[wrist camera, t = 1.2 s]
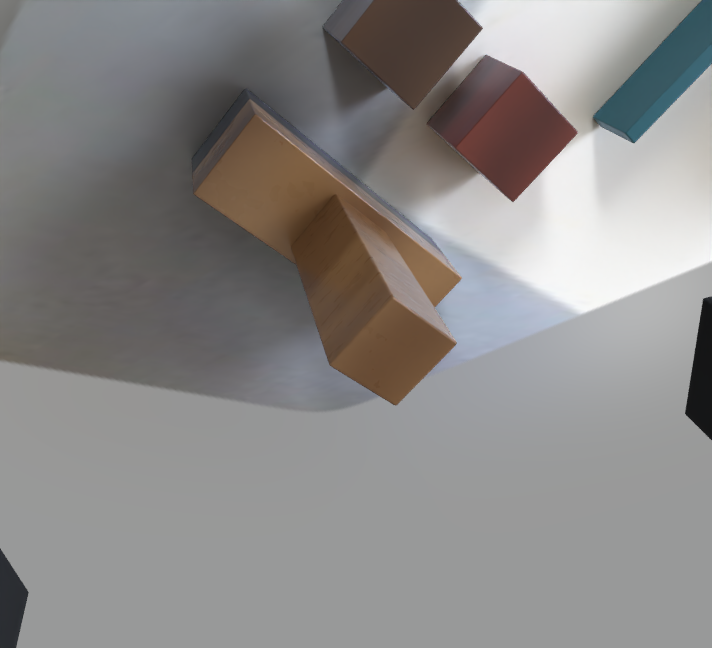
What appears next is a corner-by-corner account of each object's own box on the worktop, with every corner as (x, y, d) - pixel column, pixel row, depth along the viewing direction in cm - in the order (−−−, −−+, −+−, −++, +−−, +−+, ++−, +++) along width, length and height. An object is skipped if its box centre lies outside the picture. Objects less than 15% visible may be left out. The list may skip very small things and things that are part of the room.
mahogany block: (425, 123, 32) (454, 148, 29) (485, 54, 31) (522, 71, 27) (480, 174, 34) (513, 202, 30) (538, 110, 33) (578, 132, 29)
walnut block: (321, 27, 29) (340, 42, 25) (384, -55, 28) (412, -50, 24) (388, 88, 31) (414, 110, 27) (449, 15, 30) (483, 28, 26)
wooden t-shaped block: (191, 159, 30) (198, 305, 19) (245, 87, 29) (286, 197, 18) (381, 295, 36) (472, 468, 25) (432, 239, 35) (552, 393, 24)
